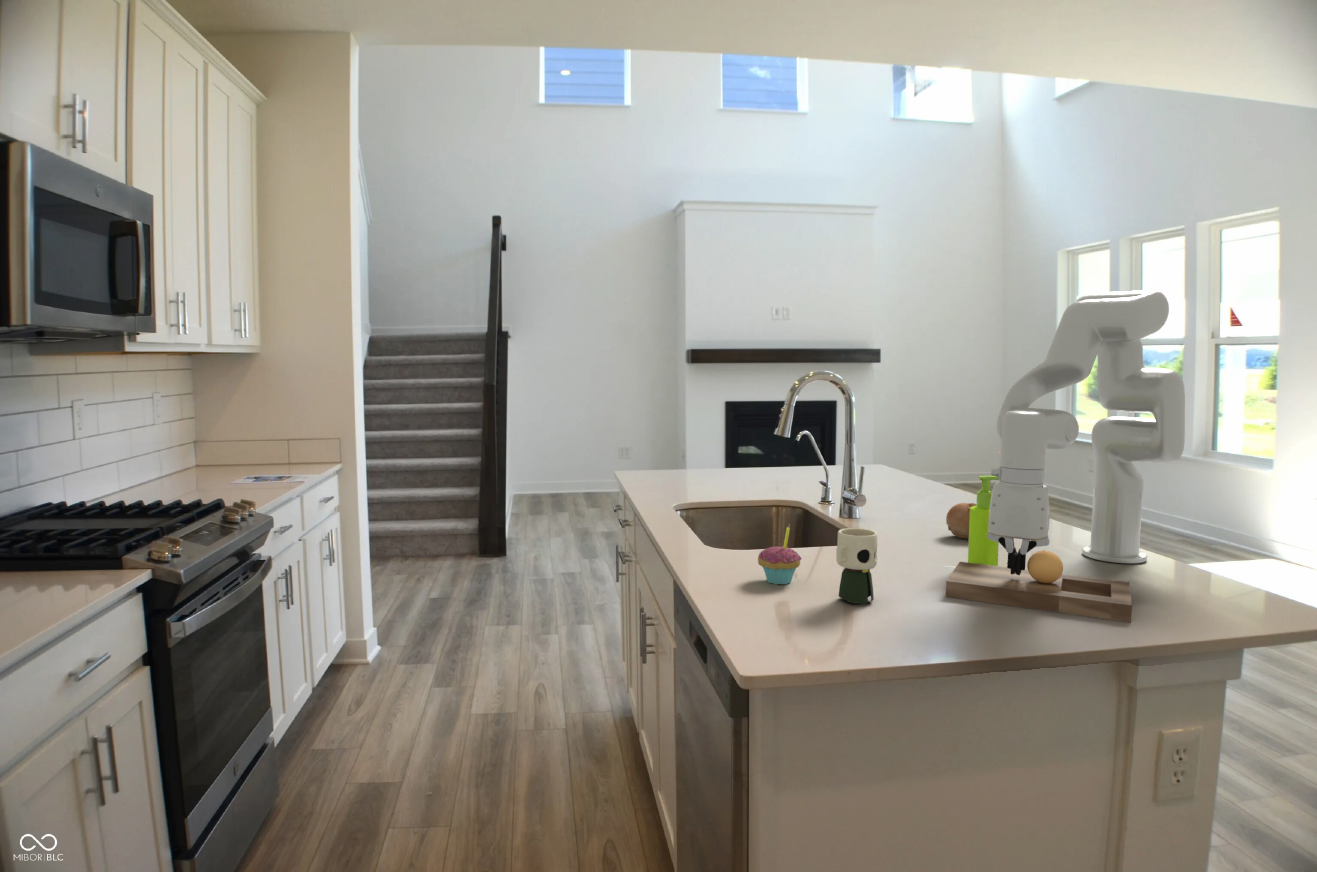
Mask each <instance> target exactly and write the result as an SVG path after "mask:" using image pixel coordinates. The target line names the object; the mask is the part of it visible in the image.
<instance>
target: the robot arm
mask: <svg viewBox="0 0 1317 872" xmlns="http://www.w3.org/2000/svg"><path fill="white" fill-rule="evenodd" d="M1169 314H1170V305H1169V302H1168V299H1167V297H1166V295H1165V294H1163V293H1162V292H1161V291H1159V290H1156V289H1155V290H1154V289H1149V290H1146V289H1145V290H1131V291H1129V290H1128V291H1109V292H1108V291H1107V292H1105V291H1104V292H1097V293H1096V292H1095V293H1090V294H1086V295H1083V296H1081V297H1078V299H1077V300H1076V301H1074V302H1073V303H1070V305H1068V306H1067V307H1066V308H1065V310H1064V312H1063V314H1062V316H1061V318H1060V322H1059V324H1058V327H1057V329H1056V331H1055V333H1054V336H1053V339H1052V342H1051V343H1050V347H1049V349H1048V351H1047V354H1046V357H1045V359H1044V360H1043V361H1042V362H1041V363H1039V364H1038V365H1036V366H1035V367H1033V368H1032V369H1030V370H1029V371H1028V372H1026V373H1025V374H1024V375H1023V376H1021V377H1020V378H1018V380H1017V381H1016V382H1015V383H1014V384H1013V385H1012V386H1011V387H1010V389H1009V390H1008V392H1007V394H1006V396H1005V398H1004V400H1003V403H1002V405H1001V408H1000V411H999V412H998V416H997V421H996V433H997V437H998V439H999V440H1000V441H1001V444H1000V445H1001V446H1000V463H999V467H997V468H991V473H990V474H991V475H990V476H996V477H998V478H999V480H998V481H996V482H995V483H994V484H993V487H992V490H991V491H992V496H991V503H990V511H989V522H988V530H989V531H988V535H987V538H988V539H990V540H993V541H996V542H999V544H1000V545H1001V546H1002V547H1003V548H1004V550H1006V552H1007V563H1006V564H1007V565H1006V567H1007V568H1009V569H1011V574H1013V575H1014V574H1015V573H1016V574H1017V575H1020V574H1021V570H1024V571H1025V569H1026V563H1027V562H1026V561H1027V558H1026V557H1027V553H1029V552H1030V551H1031V550H1033V549H1034V548H1037V547H1040V548H1041V547H1047V546H1049V545H1050V537H1049V529H1050V499H1049V498H1050V497H1049V491H1048V486H1047V485H1045V484H1044V476H1045V461H1046V449H1048V450H1063V449H1066V448H1069V447H1070V446H1072V445H1073V443H1075V441H1076V440H1077V439H1078V438H1077V437H1078V435H1079V428H1080V427H1079V422H1078V420H1077V418H1076V417H1075V415H1073V414H1072V413H1070V412H1068V411H1066V410H1061V409H1046V408H1045V409H1044V408H1038V407H1037V408H1036V407H1035V408H1034V407H1030V406H1031V405H1032V404H1033V403H1034V402H1036V401H1037V400H1038V399H1040V398H1041V397H1043V396H1045V395H1048V394H1050V393H1053V392H1055V391H1058V390H1061V389H1064V388H1067V387H1069V386H1073V385H1075V384H1078V383H1081V382H1082V381H1084V380H1086V379H1087V378H1088V377H1089V376H1090V374H1091V373H1092V369H1093V368H1094V365H1095V362H1096V360H1097V381H1098V382H1097V383H1098V384H1097V385H1098V386H1097V391H1098V398H1099V403H1100V405H1101V406H1102V407H1103V408H1104V409H1105V410H1108V411H1113V412H1119V413H1121V412H1122V413H1123V412H1124V413H1143V414H1152V415H1153V416H1154V417H1153V418H1148V417H1136V416H1135V417H1134V416H1107V417H1103V418H1101V419H1099V420H1098V421H1097V422H1095V424H1094V425H1093V427H1092V431H1091V445H1092V452H1093V461H1094V465H1093V467H1094V472H1093V473H1094V475H1093V493H1092V509H1091V510H1092V511H1091V513H1092V514H1091V530H1090V545H1087V546H1084V547H1083V548H1082V549H1081V551H1082V552H1081V553H1082V555H1084V557H1087V558H1090V559H1093V560H1097V561H1102V562H1107V563H1114V564H1115V563H1118V564H1142V563H1145V562H1146V561H1147V560H1148V555H1147V554H1146V553H1145V552H1143V551H1140V541H1141V526H1142V512H1143V511H1142V510H1143V508H1142V507H1143V498H1144V497H1143V496H1144V480H1143V477H1142V474H1141V472H1140V471H1139V469H1138V468H1137V467H1136V465H1135V464H1134V462H1140V463H1149V464H1151V463H1153V464H1164V465H1165V464H1173V463H1175V462H1177V461H1179V460H1180V459H1181V457H1182V456H1183V452H1184V449H1185V441H1186V439H1185V438H1186V437H1185V435H1186V423H1185V422H1186V419H1185V418H1186V394H1185V392H1186V391H1185V384H1184V381H1183V379H1182V376H1181V375H1180V374H1179V373H1178V372H1177V371H1176V370H1173V369H1169V368H1150V367H1149V368H1146V367H1145V366H1144V357H1143V356H1144V354H1143V353H1144V352H1143V350H1144V348H1143V347H1144V346H1143V343H1142V340H1141V339H1144V338H1146V337H1147V336H1150V335H1153V334H1155V333H1156V332H1158V331H1160V330H1161V329H1162V328H1163V327H1164V325H1165V324H1166V322H1167V320H1168V316H1169ZM1096 358H1097V359H1096ZM1015 539H1016V540H1017V539H1019V540H1022V541H1021V545H1020V548H1018V551H1017V548H1016V546H1015Z"/></svg>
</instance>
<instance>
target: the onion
mask: <svg viewBox="0 0 1317 872" xmlns="http://www.w3.org/2000/svg"><path fill="white" fill-rule="evenodd" d="M976 504H977V503H976V502H974V503H973V502H970V503H969V502H968V503H967V502H960V503H957V504H953V506H952V507H950V509H949V510H948V512H947V513H946V517H945V523H946V525H947V528H948V531H950V532H951V534H952V535H954V536H955V537H956V538H957V539H960V540H969V520H970V507H972V506H976Z"/></svg>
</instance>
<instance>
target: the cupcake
mask: <svg viewBox="0 0 1317 872" xmlns="http://www.w3.org/2000/svg"><path fill="white" fill-rule="evenodd" d="M790 526H791V524H790V523H789V524H788V526H787V527H786V528H785V529H786V530H785V535H784V541H783V545H782V546H777V545H776V546H769V547H766V548H764V549H763V550H762V551H761V550H760V552H759V553H758V557H757V564H758V566H761V567H762V569H763V572H764V574H765V578H766V581H767V583H769V582H770V583H769V584H771V583H774V584H773V585H777V584H785V585H788V584H787V583H789V584H791V583H792V582H793V581H792V580H793V578H794V574H795V572H796V570H797V568H799V567H800V566H801V560H802V556H800V554H798V552H797V551H795V550H794V549H792V548H791V547H788V540H789V536H790V531H791V528H790ZM790 582H791V583H790Z"/></svg>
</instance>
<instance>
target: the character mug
mask: <svg viewBox="0 0 1317 872" xmlns="http://www.w3.org/2000/svg"><path fill="white" fill-rule="evenodd" d="M836 545H837V546H836V555H835V556H836V559H835V560H836V562H837V565H839V566H840V567H842V568H844V569H843V570H842V572H841V576H840V582H839V588H838V589H839V590H838V597H839V598H840V599H842V600H844V601H847V602H849V603H852V604H853V603H854V604H868V603H869V597H870V601H871V602H873V601H874V599H875V597H874V585H873V579H872V578H873V577H872V573H871V570H872V569H874V568H875V567H876V566H877V563H878V556H877V553H878V532H877V531H875V530H872V529H868V528H857V527H852V528H851V527H847V528H841V529H838V531H837V544H836Z"/></svg>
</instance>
